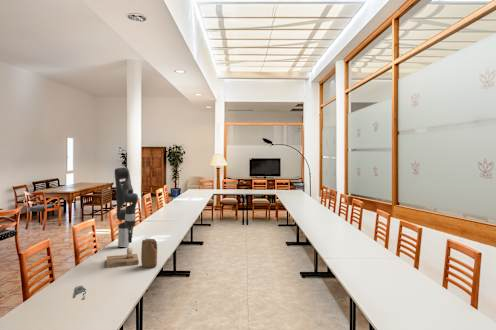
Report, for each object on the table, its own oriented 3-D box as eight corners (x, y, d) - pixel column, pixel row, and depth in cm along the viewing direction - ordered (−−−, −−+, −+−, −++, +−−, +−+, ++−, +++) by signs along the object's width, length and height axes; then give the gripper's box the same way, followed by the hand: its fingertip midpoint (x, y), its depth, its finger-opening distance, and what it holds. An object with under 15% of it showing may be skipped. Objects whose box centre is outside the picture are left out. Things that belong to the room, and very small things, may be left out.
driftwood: (75, 287, 194) (75, 284, 194) (87, 286, 196) (87, 283, 196) (70, 302, 175) (71, 299, 175) (84, 300, 177) (84, 297, 177)
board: (106, 260, 245) (106, 256, 245) (136, 257, 253) (137, 253, 253) (106, 267, 228) (106, 263, 228) (138, 264, 237) (138, 260, 237)
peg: (126, 261, 244) (126, 248, 244) (131, 260, 245) (132, 247, 245) (126, 262, 240) (127, 249, 240) (132, 262, 242) (132, 249, 242)
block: (140, 267, 230) (140, 240, 229) (144, 264, 237) (144, 237, 237) (154, 268, 229) (155, 240, 229) (158, 265, 237) (158, 238, 236)
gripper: (124, 218, 247) (124, 239, 248) (125, 221, 234) (124, 244, 234) (134, 217, 250) (134, 239, 251) (136, 221, 237) (135, 243, 237)
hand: (129, 241), depth 243 cm, fingers open, 5 cm apart
